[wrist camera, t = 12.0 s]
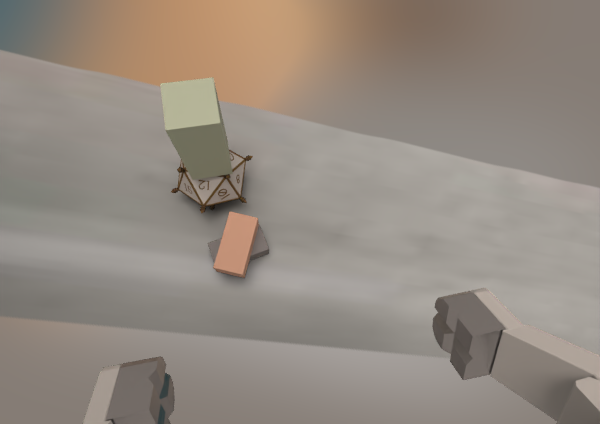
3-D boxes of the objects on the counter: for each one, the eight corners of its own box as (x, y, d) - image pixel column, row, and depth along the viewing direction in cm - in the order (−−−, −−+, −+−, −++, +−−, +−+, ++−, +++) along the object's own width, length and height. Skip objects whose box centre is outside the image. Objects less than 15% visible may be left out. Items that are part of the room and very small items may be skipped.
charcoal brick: (220, 272, 42) (216, 268, 39) (211, 248, 43) (207, 243, 40) (268, 253, 43) (268, 248, 40) (260, 230, 44) (259, 224, 41)
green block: (192, 179, 36) (165, 130, 27) (187, 143, 37) (160, 83, 28) (232, 173, 37) (220, 122, 27) (227, 138, 38) (213, 77, 28)
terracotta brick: (244, 277, 39) (242, 274, 36) (217, 271, 39) (213, 267, 36) (258, 225, 41) (257, 218, 38) (232, 219, 41) (229, 211, 38)
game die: (216, 182, 49) (217, 110, 43) (263, 211, 45) (270, 137, 39) (157, 208, 43) (148, 128, 37) (205, 244, 39) (204, 161, 33)
